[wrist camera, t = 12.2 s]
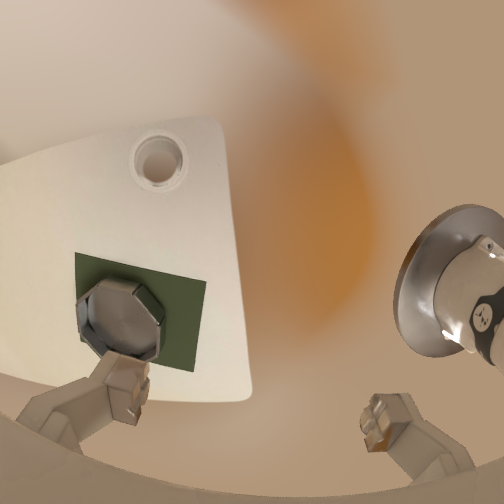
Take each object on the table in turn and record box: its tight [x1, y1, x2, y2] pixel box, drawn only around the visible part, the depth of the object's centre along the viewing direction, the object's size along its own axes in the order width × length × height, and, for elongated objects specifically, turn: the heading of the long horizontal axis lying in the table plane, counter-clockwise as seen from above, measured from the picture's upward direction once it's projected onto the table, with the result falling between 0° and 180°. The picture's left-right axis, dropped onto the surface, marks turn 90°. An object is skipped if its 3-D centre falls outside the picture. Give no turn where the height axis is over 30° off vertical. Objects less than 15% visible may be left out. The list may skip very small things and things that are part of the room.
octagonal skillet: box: [75, 276, 166, 362], centre depth 40 cm, size 20×13×5 cm, turn 169°
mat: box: [75, 253, 206, 372], centre depth 41 cm, size 20×16×1 cm
